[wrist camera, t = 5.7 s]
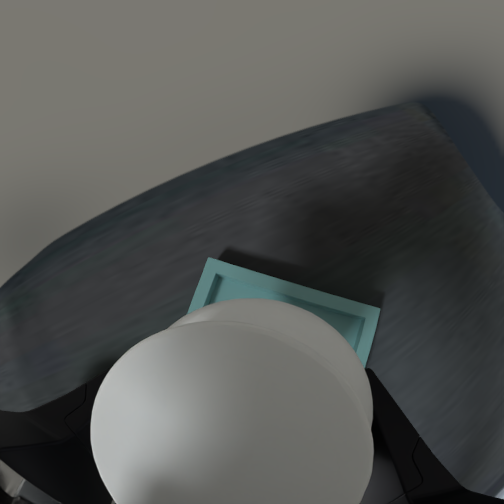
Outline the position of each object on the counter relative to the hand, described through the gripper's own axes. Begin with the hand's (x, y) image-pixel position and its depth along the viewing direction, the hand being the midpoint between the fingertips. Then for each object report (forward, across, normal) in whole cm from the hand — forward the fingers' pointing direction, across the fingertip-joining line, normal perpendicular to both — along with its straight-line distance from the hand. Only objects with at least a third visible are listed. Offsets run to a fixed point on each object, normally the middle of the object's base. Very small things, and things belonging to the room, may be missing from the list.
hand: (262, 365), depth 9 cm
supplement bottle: (+4, 0, +6) cm, 7 cm away
